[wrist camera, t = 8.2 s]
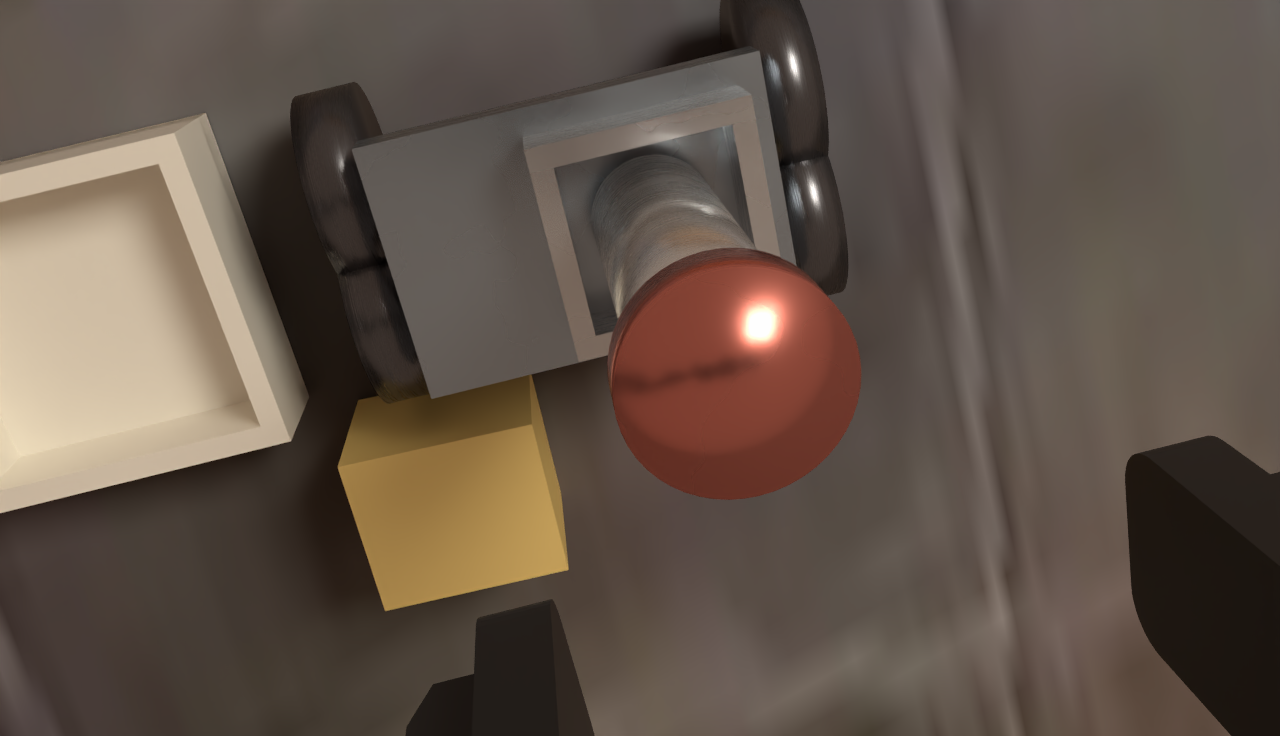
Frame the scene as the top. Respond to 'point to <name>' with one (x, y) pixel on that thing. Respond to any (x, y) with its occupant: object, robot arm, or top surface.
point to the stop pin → (715, 340)
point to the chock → (454, 492)
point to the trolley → (556, 202)
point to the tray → (132, 317)
